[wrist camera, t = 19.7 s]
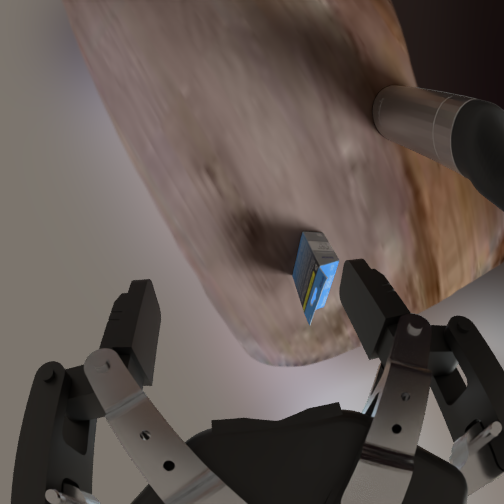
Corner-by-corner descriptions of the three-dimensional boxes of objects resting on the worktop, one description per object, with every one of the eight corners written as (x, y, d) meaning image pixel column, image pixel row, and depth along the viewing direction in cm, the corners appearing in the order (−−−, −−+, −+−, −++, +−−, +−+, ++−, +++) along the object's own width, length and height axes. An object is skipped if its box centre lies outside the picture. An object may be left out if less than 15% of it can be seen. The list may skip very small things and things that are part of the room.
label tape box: (311, 275, 51) (333, 325, 40) (289, 275, 50) (308, 326, 40) (323, 231, 46) (352, 277, 36) (299, 230, 46) (324, 276, 35)
